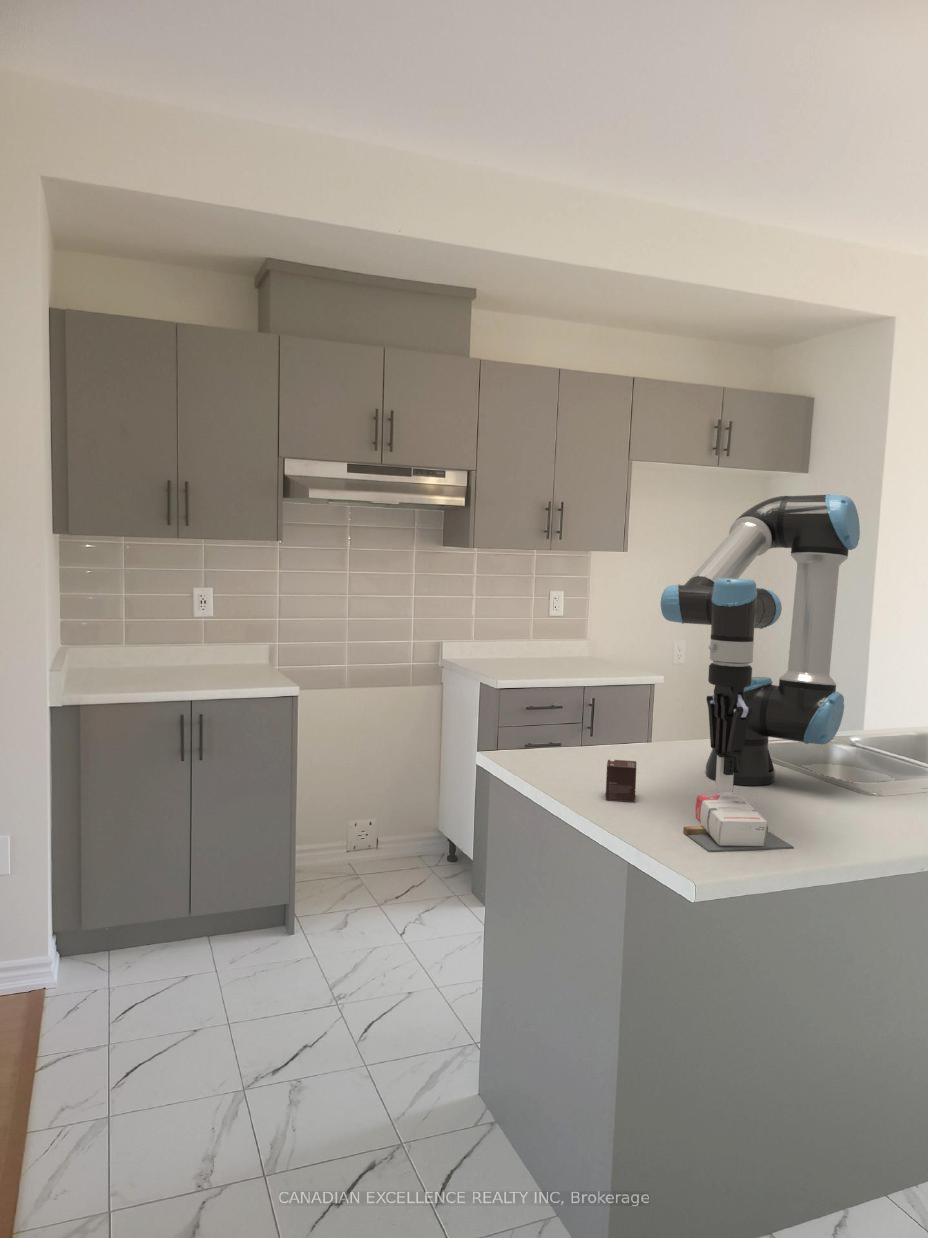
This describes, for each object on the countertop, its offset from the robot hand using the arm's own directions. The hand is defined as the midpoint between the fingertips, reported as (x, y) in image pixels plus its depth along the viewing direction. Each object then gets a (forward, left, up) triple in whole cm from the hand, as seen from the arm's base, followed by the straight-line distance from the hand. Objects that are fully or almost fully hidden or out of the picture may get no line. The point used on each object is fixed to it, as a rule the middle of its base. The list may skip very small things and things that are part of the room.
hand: (723, 790), depth 160 cm
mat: (0, +6, -8) cm, 10 cm away
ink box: (0, -2, -3) cm, 4 cm away
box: (+11, -23, -8) cm, 27 cm away
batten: (0, +1, -8) cm, 8 cm away
